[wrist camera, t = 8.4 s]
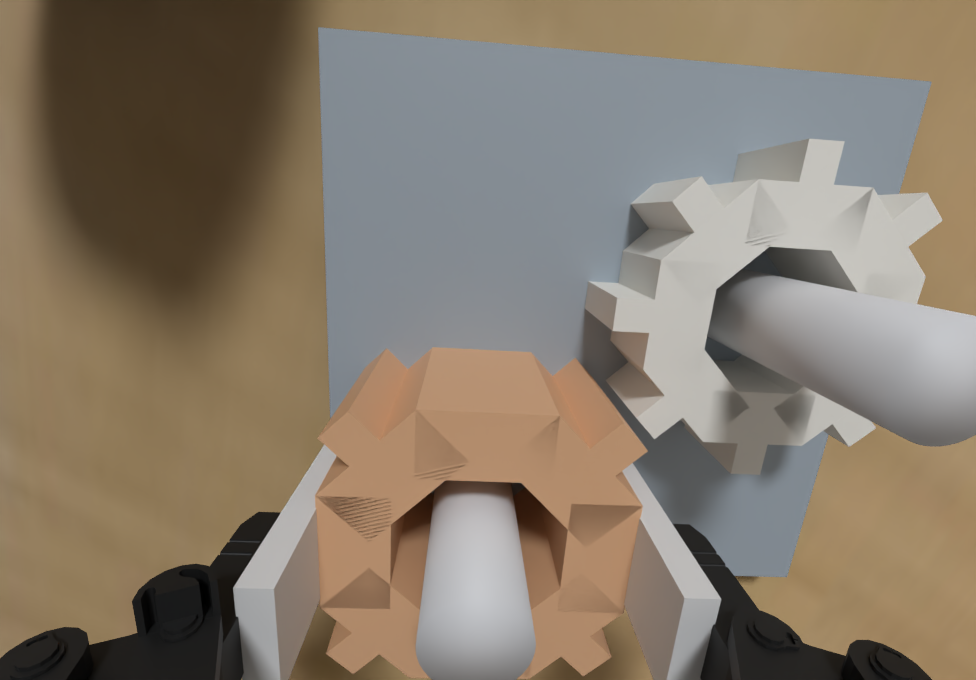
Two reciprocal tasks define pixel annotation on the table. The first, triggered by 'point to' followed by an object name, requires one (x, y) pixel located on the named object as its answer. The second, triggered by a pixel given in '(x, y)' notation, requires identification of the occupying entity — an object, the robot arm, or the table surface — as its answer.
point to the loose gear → (475, 457)
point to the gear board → (551, 211)
